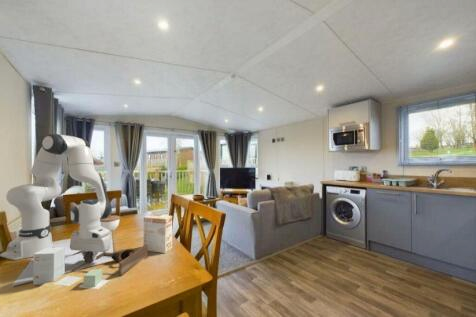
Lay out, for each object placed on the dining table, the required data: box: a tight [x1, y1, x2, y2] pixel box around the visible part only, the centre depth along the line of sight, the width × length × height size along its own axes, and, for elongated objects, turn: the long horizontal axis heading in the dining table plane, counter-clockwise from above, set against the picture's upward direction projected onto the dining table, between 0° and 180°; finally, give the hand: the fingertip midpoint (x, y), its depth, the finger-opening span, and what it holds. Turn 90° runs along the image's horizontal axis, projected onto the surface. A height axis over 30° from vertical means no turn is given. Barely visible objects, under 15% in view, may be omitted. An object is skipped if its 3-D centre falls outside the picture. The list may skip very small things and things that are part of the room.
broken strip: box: [52, 275, 110, 290], centre depth 83 cm, size 21×6×1 cm, turn 82°
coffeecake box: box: [142, 213, 173, 254], centre depth 117 cm, size 15×7×20 cm, turn 74°
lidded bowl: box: [100, 214, 121, 232], centre depth 149 cm, size 13×13×11 cm
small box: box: [32, 246, 66, 286], centre depth 86 cm, size 8×6×13 cm
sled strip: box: [69, 244, 148, 277], centre depth 99 cm, size 27×19×7 cm
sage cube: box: [83, 268, 103, 287], centre depth 82 cm, size 4×4×4 cm
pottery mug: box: [110, 248, 135, 264], centre depth 99 cm, size 12×10×8 cm
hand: (89, 259), depth 100 cm, fingers closed on sled strip, 3 cm apart
